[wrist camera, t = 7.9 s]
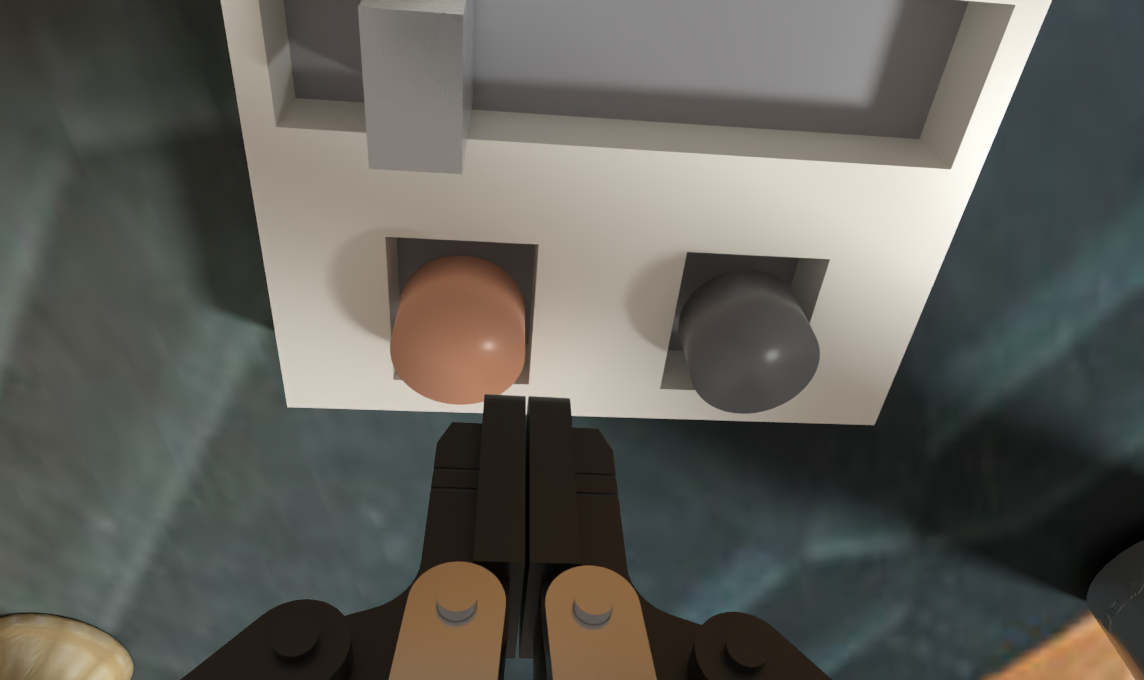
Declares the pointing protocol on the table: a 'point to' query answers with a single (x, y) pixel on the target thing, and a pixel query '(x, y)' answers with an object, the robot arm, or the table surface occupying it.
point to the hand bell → (59, 650)
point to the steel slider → (417, 82)
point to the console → (630, 185)
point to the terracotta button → (459, 330)
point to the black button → (747, 342)
